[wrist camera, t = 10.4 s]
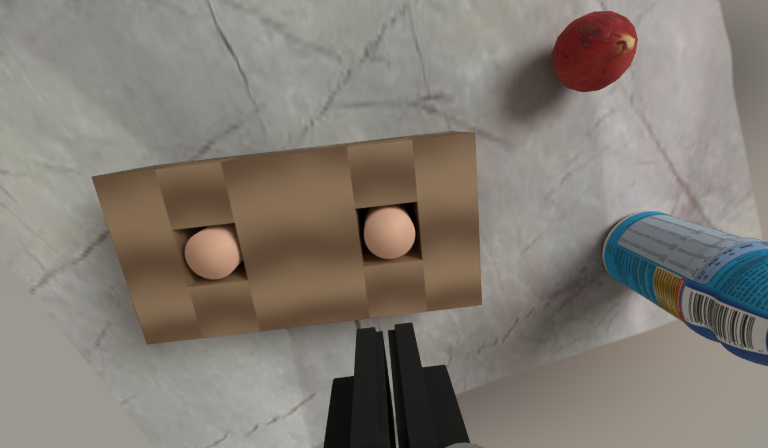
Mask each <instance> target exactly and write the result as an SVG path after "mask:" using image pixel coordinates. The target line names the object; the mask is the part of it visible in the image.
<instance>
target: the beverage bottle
mask: <svg viewBox="0 0 768 448" xmlns="http://www.w3.org/2000/svg"><path fill="white" fill-rule="evenodd" d="M603 262H604V266H605V268H606V270H607V271H608V273H609V274H610V275H611V276H612V277H613V278H614V279H615V280H617V281H618V282H620V283H622V284H623V285H625V286H627V287H629V288H631V289H632V290H634V291H635V292H637V293H638V294H640V295H642V296H643V297H645V298H646V299H648V300H650V301H651V302H653V303H654V304H656V305H657V306H659V307H660V308H662V309H664V310H665V311H667V312H668V313H670V314H671V315H673V316H675V317H676V318H678V319H679V320H681V321H682V322H684V323H685V324H686V325H687V326H688V327H689V328H690V329H692V330H693V331H695V332H696V333H698V334H700V335H701V336H703V337H705V338H707V339H710V340H712V341H715V342H719V343H721V344H722V345H723V346H724V347H725V348H726V349H727V350H728V351H730V352H731V353H733V354H734V355H736V356H738V357H741V358H743V359H746V360H748V361H751V362H754V363H757V364H761V365H765V366H768V242H766V241H763V240H760V239H755V238H747V237H739V236H735V235H732V234H729V233H725V232H722V231H718V230H715V229H711V228H708V227H704V226H701V225H698V224H694V223H691V222H688V221H684V220H681V219H678V218H675V217H673V216H670V215H668V214H664V213H661V212H656V211H643V212H638V213H635V214H632V215H630V216H628V217H626V218H624V219H623V220H621V221H620V222H619V223H618V224H616V225H615V226H614V228H613V229H612V230H611V231H610V233H609V234H608V236H607V238H606V240H605V243H604V246H603Z"/></svg>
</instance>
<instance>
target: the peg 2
mask: <svg viewBox="0 0 768 448" xmlns="http://www.w3.org/2000/svg"><path fill="white" fill-rule="evenodd" d="M364 239H365V243H366V245H367V247H368V248H369V250H370V251H371V252H372V253H373V254H375V255H376V256H378V257H381V258H385V259H394V258H398V257H400V256H402V255H404V254H405V253H407V252H408V251H409V250H410V248H411V247H412V245H413V243H414V240H415V228H414V225H413V223H412V221H411V218H410V216H409V214H408V211H407V209H406V207H405V204H404V203H400V204H392V205H383V206H374V207H366V212H365V228H364Z"/></svg>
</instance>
